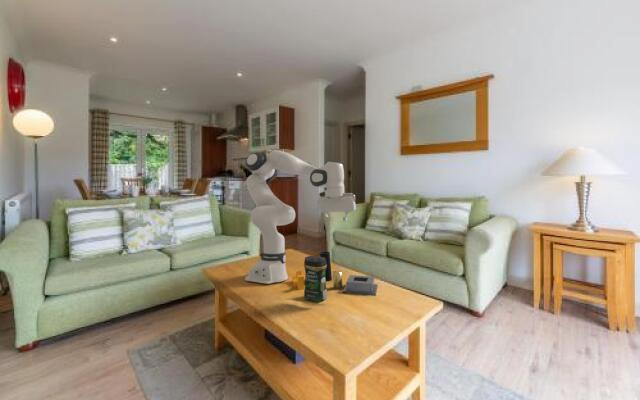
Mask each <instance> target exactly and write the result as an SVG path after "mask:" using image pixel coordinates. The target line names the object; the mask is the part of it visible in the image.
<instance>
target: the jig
mask: <svg viewBox="0 0 640 400" xmlns="http://www.w3.org/2000/svg"><path fill="white" fill-rule="evenodd" d="M377 290H378V284H377V283H375V276H372V275H371V276H370V275H369V276H368V275H354V274H353V275H352V274H350V275H349V276H348V278H347V280H346V283H345V286H344V288H343V289H342V293H344V294H354V295H355V294H356V295H365V296H376V295H377V292H378V291H377Z"/></svg>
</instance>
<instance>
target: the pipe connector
mask: <svg viewBox="0 0 640 400" xmlns="http://www.w3.org/2000/svg"><path fill="white" fill-rule="evenodd" d="M330 253H331V252H330V251H326V250H325V251H321V252H319V254H320V255H319V257H325V258H326V263H327V267H326V272H325V278H326V282H331V281H332V280H333V273H332V267H331V266H332V265H331V264H332V263H331V254H330Z"/></svg>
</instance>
